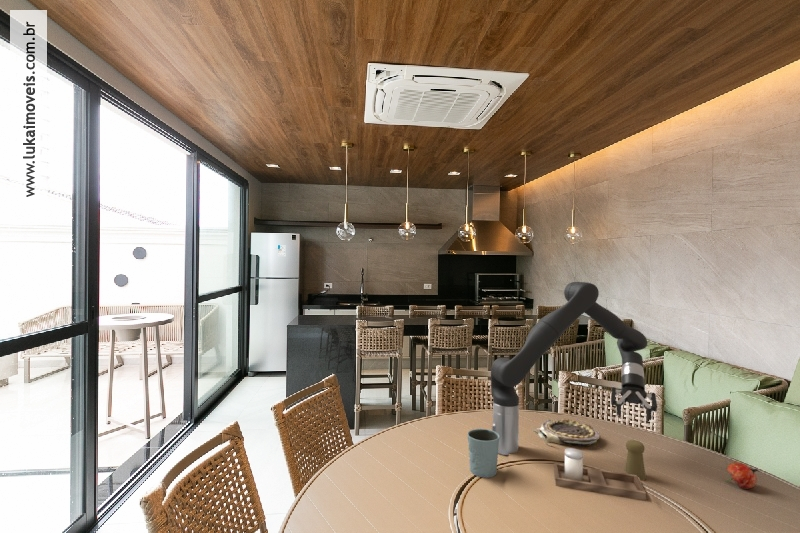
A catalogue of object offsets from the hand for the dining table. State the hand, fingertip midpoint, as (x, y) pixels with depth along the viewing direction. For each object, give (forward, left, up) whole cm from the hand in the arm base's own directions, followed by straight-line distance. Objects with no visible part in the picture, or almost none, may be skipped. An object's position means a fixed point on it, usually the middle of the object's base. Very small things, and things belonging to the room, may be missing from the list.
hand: (633, 418), depth 142 cm
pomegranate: (+28, -7, -15) cm, 33 cm away
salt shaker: (-22, -23, -14) cm, 35 cm away
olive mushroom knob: (-2, -11, -15) cm, 19 cm away
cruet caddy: (-15, -23, -15) cm, 32 cm away
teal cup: (-49, -25, -15) cm, 57 cm away
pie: (-19, +15, -16) cm, 29 cm away
